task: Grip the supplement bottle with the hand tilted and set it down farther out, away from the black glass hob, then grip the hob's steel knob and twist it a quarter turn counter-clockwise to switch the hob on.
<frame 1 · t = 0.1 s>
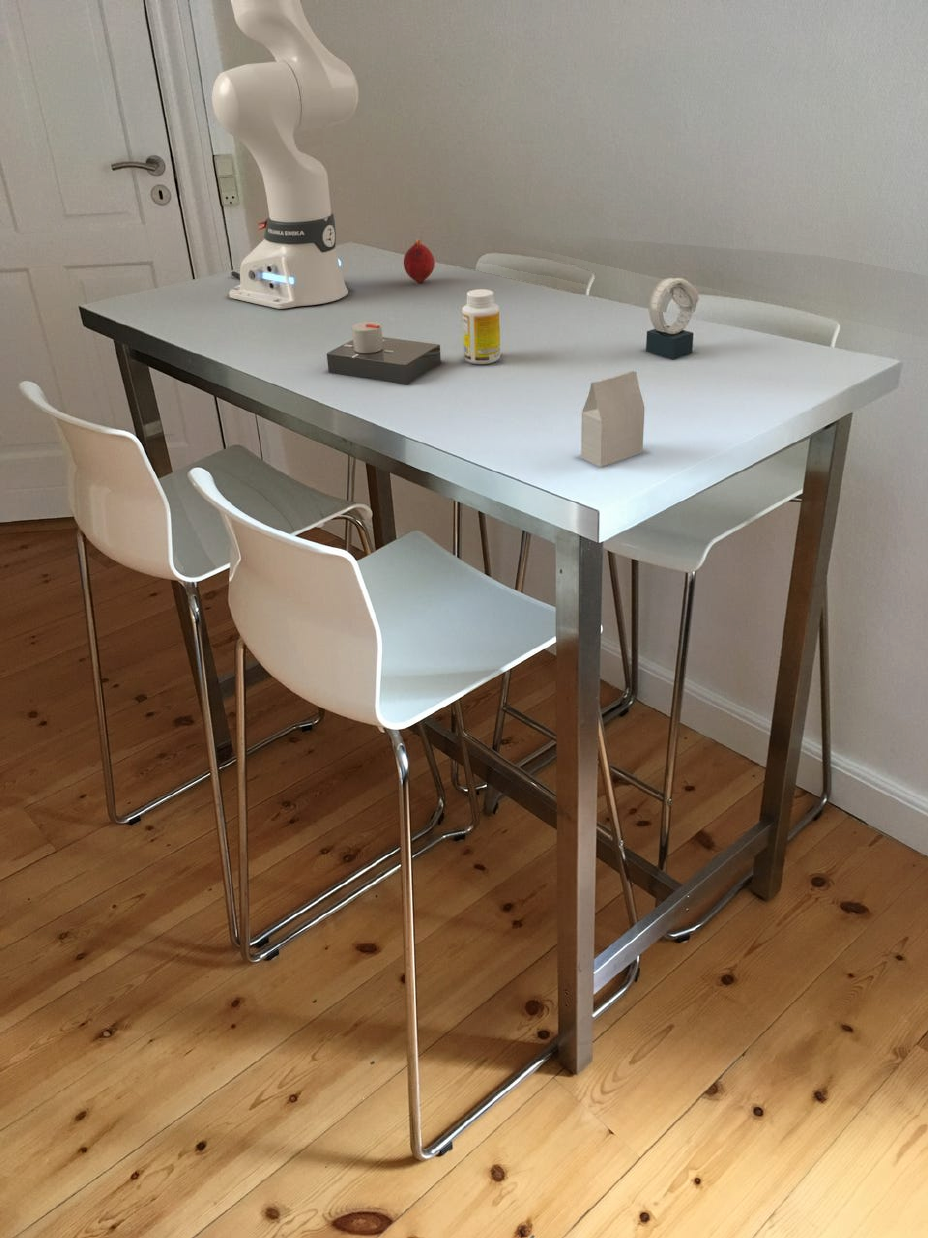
onion: (420, 283, 206), on the table
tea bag: (611, 456, 134), on the table
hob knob: (367, 336, 163), point 5 cm above the table, hinge at 0.0°
hob: (384, 367, 165), on the table
watch: (669, 353, 167), on the table
supplement bottle: (482, 360, 167), on the table
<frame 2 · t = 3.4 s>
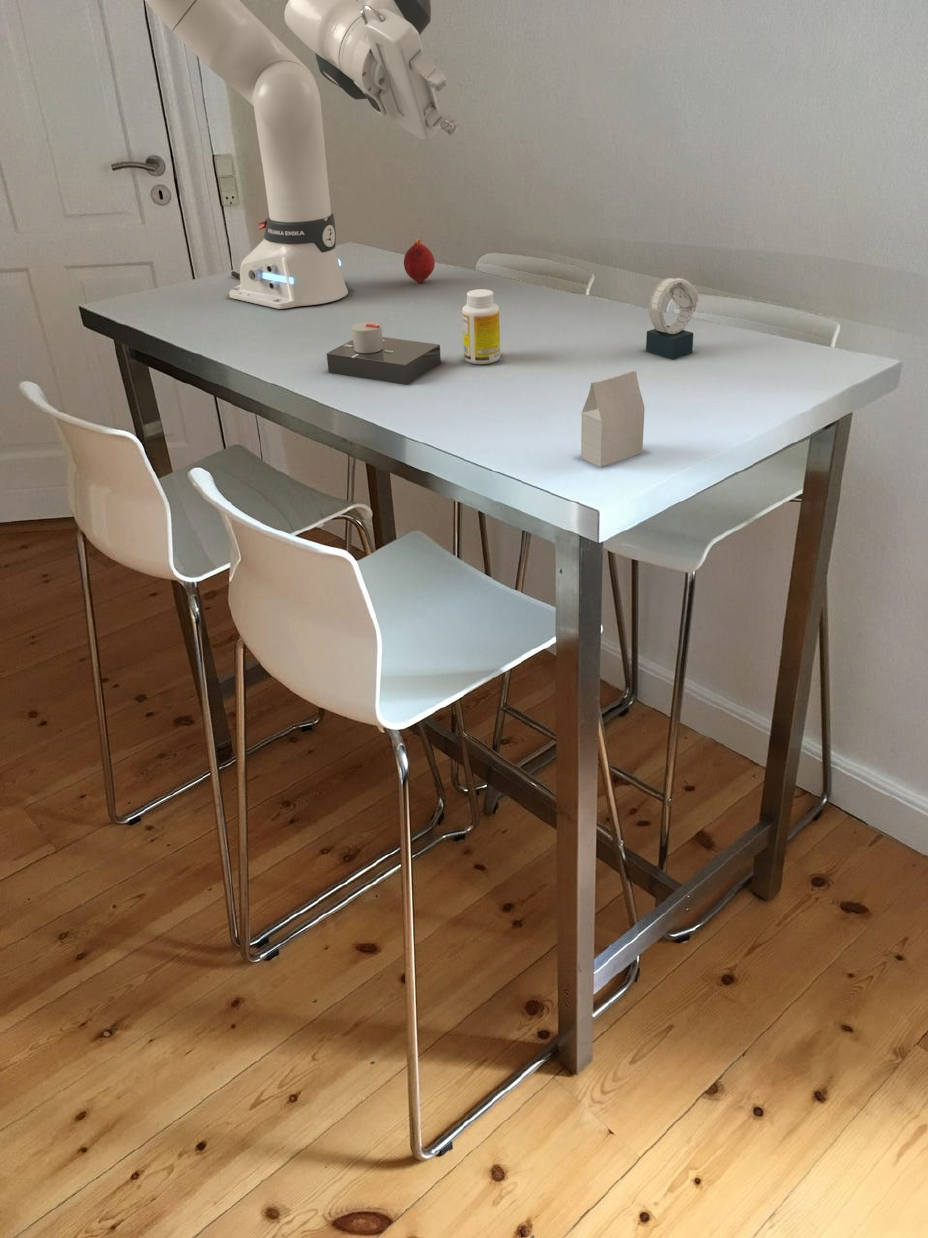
hand: (448, 107, 148), 36 cm above the table, tool tilted 65°, fingers open, 8 cm apart
nothing on the table moved.
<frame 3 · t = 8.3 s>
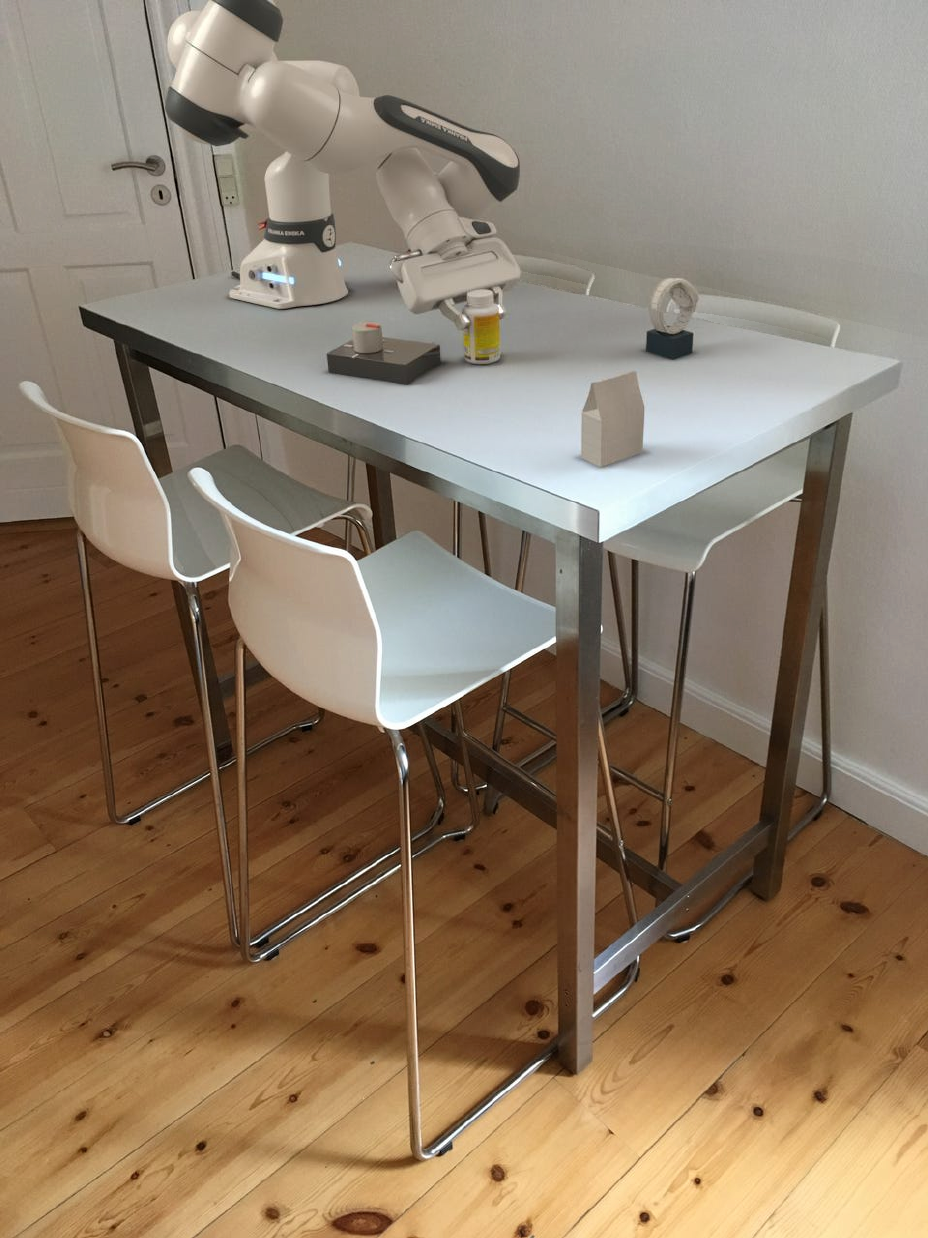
hand: (483, 322, 163), 6 cm above the table, tool tilted 45°, fingers closed on supplement bottle, 5 cm apart
supplement bottle: (482, 360, 167), on the table, touching gripper
everything else where it was.
when the fingers open (6 cm above the table, at t = 14.8 s): supplement bottle stays where it is, on the table.
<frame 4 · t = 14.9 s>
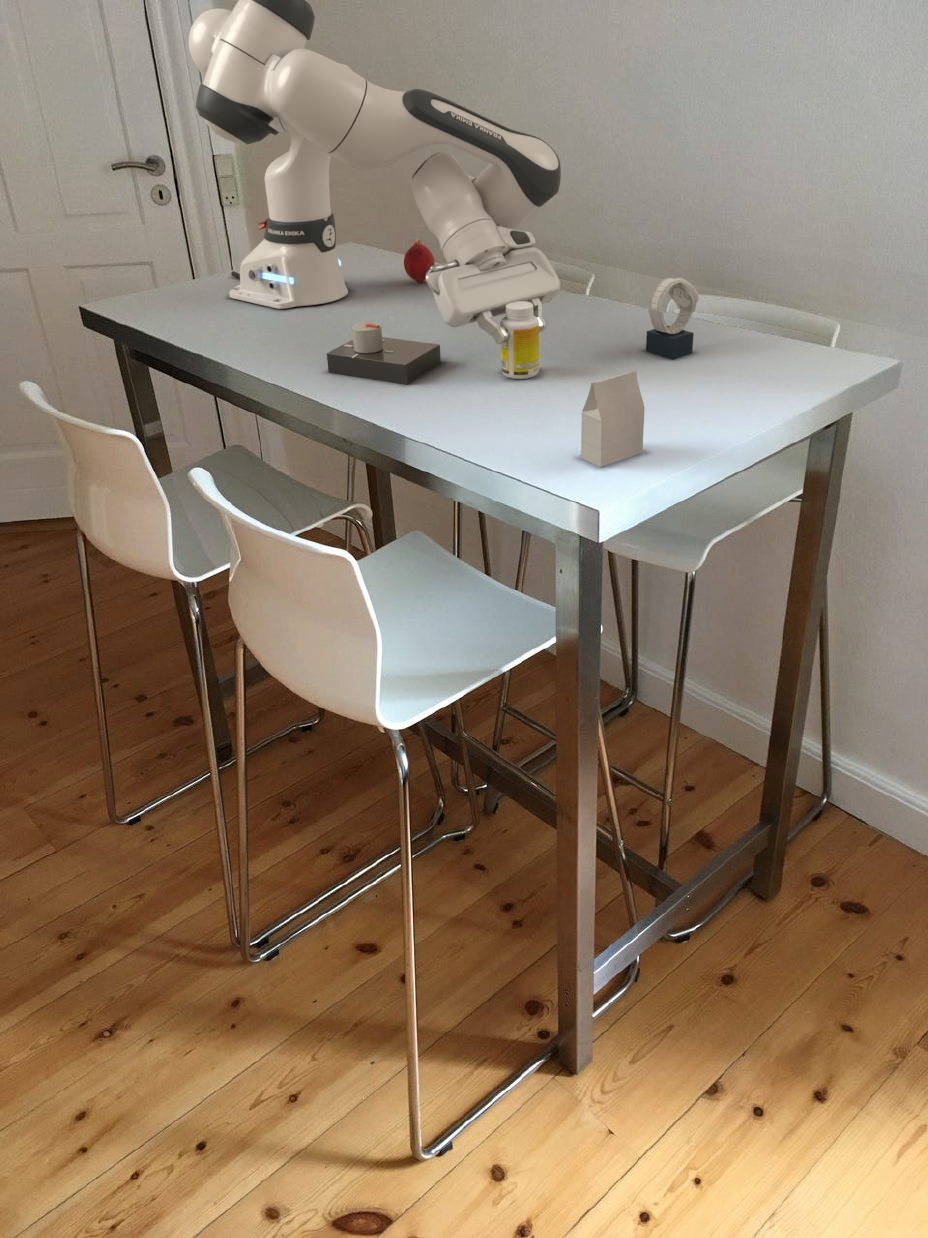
hand: (522, 335, 157), 6 cm above the table, tool tilted 45°, fingers open, 6 cm apart
supplement bottle: (520, 375, 161), on the table
everything else where it was.
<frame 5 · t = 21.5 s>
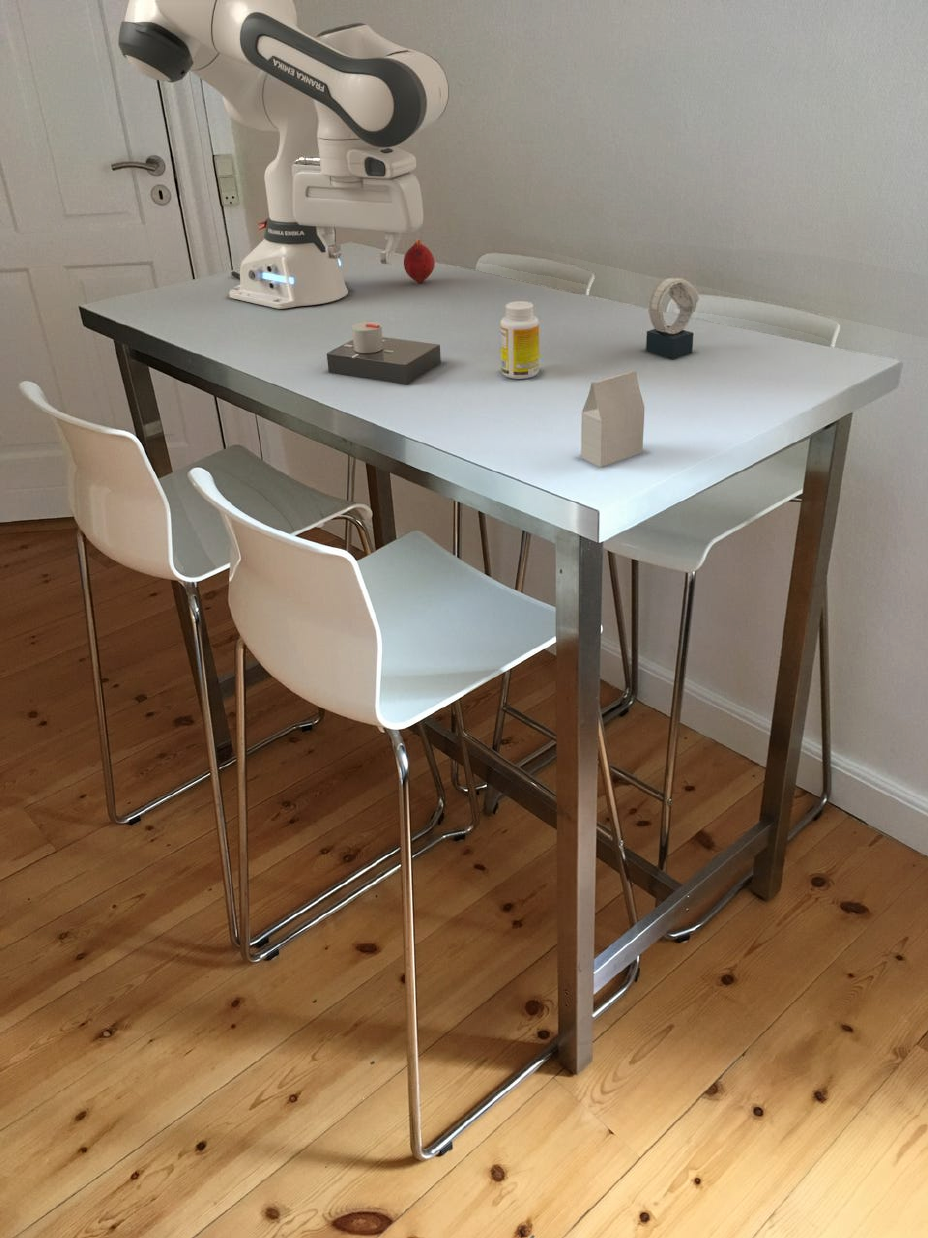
hand: (360, 260, 157), 16 cm above the table, tool pointing down, fingers open, 8 cm apart
nothing on the table moved.
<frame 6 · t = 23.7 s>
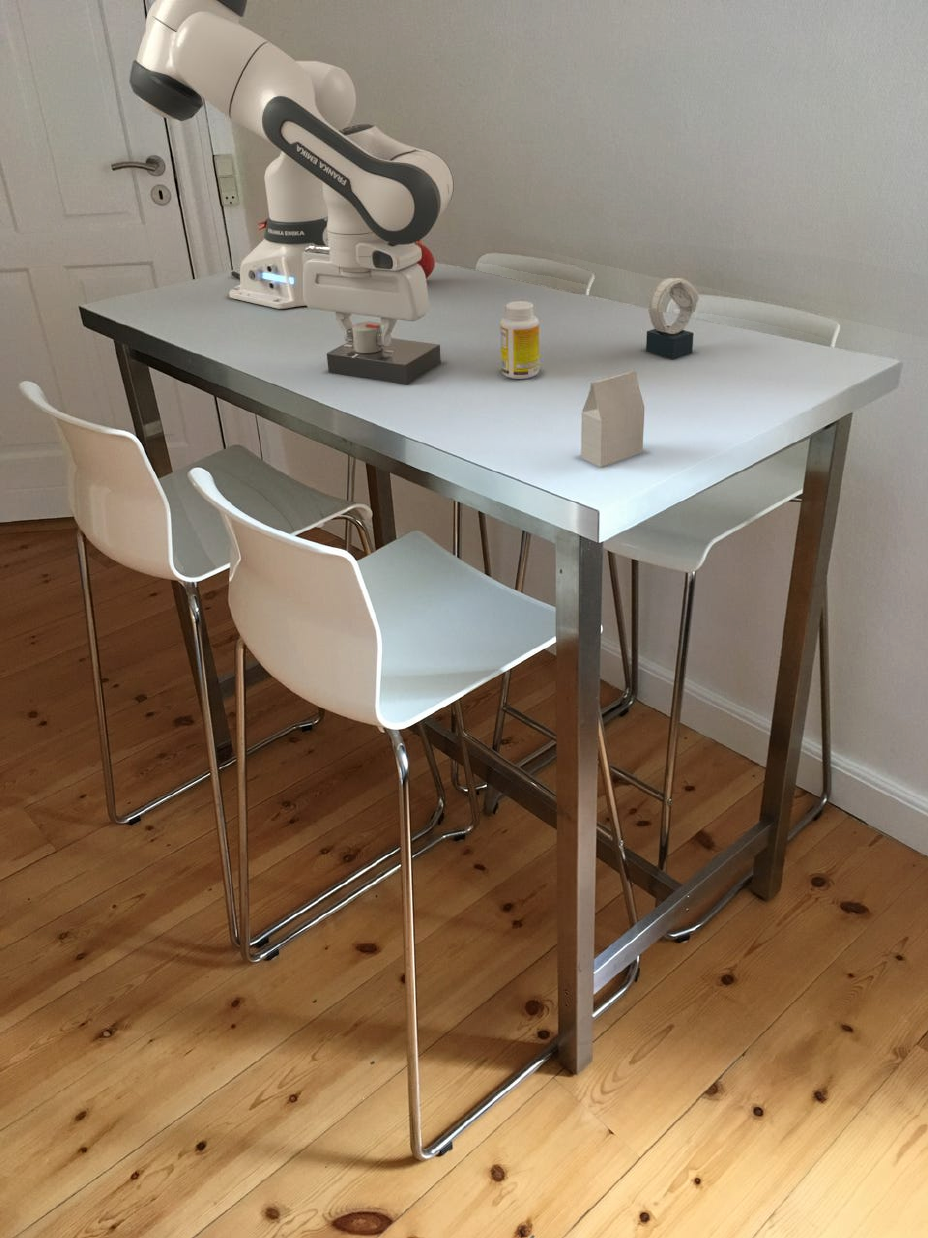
hand: (368, 343, 163), 4 cm above the table, tool pointing down, fingers closed on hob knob, 4 cm apart
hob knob: (367, 336, 163), point 5 cm above the table, hinge at 0.0°, touching gripper
everything else where it was.
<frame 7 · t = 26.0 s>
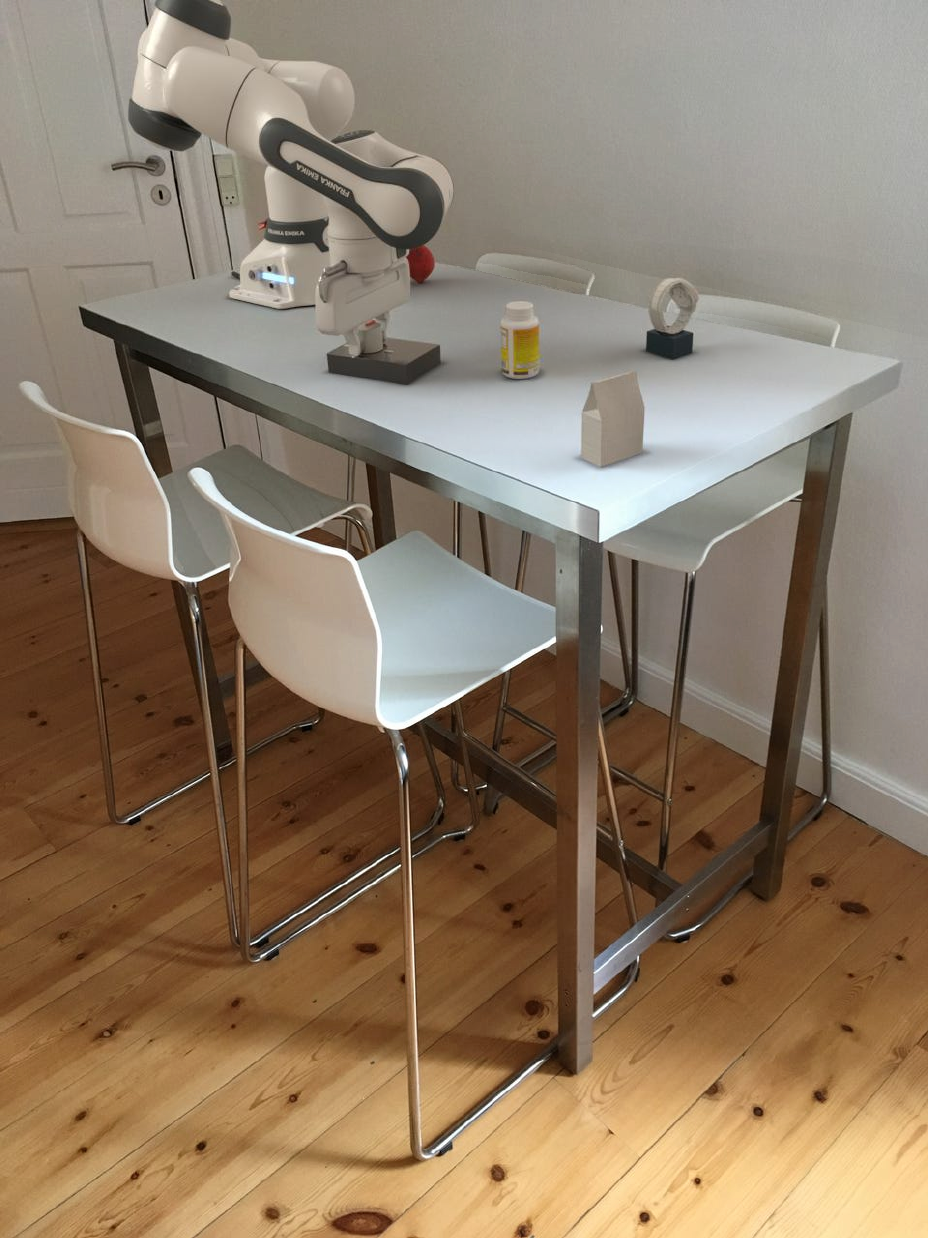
hand: (368, 348, 164), 3 cm above the table, tool pointing down, fingers open, 5 cm apart
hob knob: (367, 336, 163), point 5 cm above the table, hinge at 92.7°, touching gripper
everything else where it was.
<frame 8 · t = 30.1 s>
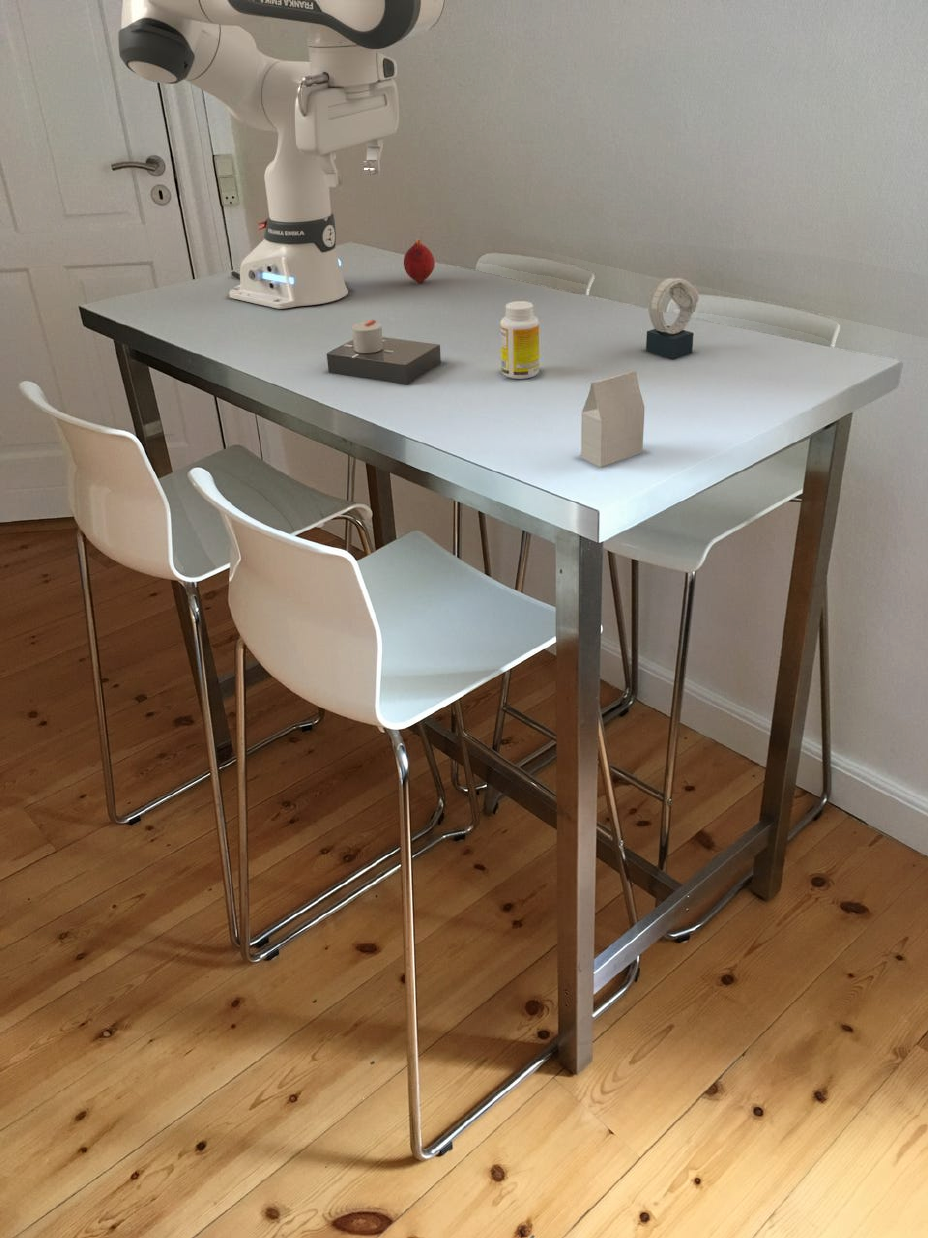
hand: (353, 179, 151), 27 cm above the table, tool pointing down, fingers open, 8 cm apart
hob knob: (367, 336, 163), point 5 cm above the table, hinge at 92.7°
everything else where it was.
at the end: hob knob at +93° (first picture: +0°); supplement bottle inside the target area (0.2 cm from its centre), on the table; supplement bottle tilted 0° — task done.
